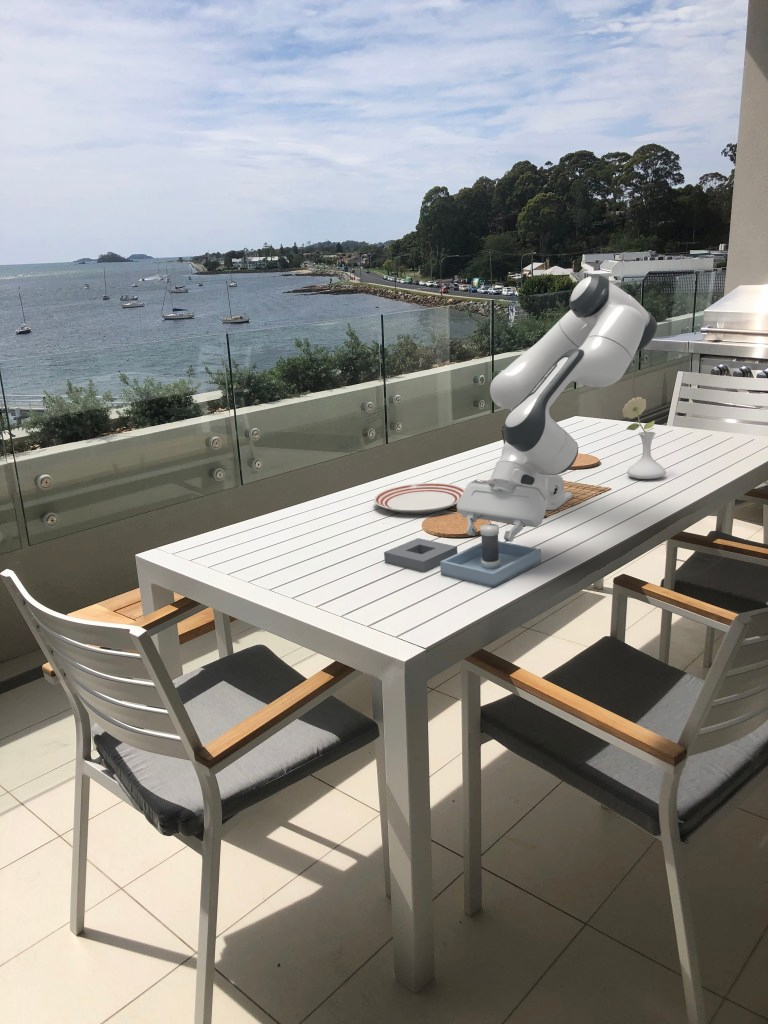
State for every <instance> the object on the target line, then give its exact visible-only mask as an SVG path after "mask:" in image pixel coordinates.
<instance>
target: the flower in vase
mask: <svg viewBox="0 0 768 1024" xmlns="http://www.w3.org/2000/svg"><path fill="white" fill-rule="evenodd" d="M646 409H647V400H646V398H642V396H636V398H635V397H632V398H631V399H630V400H628V402H627V403H626V404H624V407H623V408H622V410H621V411H622V412H621V413H622V417H623V418H624V419H625V418H628V419H635V418H638V423H636V422H634V423H631V424H630V425H628V426H627V428H626V431H627V430H628V431H636V430H637V429H638V428H639V427H641V429H642V431H641V432H638V434H637V435H638V436H639V437H640V438H641V442H642V455H641V458H640V459H638V460H637V461H636V462H634V463H633V464H632V465H631V466H630V467H628V469H627V470H626V474H627V475H628V476H629V477H631V478H634V479H637V480H638V479H640V480H654V479H658V478H659V479H660V478H662V477H664V476H665V475H666V473H667V471H666V469H665V468H664V467H663V466H662V465H661V463H659V462H657V461H656V459H654V458H653V457H652V451H651V450H652V449H651V447H652V441H653V439H654V437H655V436H656V434H657V433H656V432H655V431H646V430H648V429H649V430H650V429H652V428H653V427H654V426H655V423H656V422H655V420H652V421H650V422H647V423H645V424H644V426H642V424H641V421H640V420H641V419H640V415H642V414H643V412H644V411H645V410H646Z"/></svg>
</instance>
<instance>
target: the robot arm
mask: <svg viewBox="0 0 768 1024" xmlns="http://www.w3.org/2000/svg"><path fill="white" fill-rule="evenodd" d="M568 303H569V304H568V305H569V308H570V309H569V310H568V312H566V313H565V314H564V315H563V316H562V317H561V318H560V319H559V320H558V321H557V322H556V323H555V324H554V325H552V327H551V328H550V329H549V330H548V331H547V332H546V333H545V334H544V335H543V336H542V337H541V338H540V339H539V340H538V341H537V342H536V343H535V344H533V345H532V346H531V347H529V348H528V349H527V350H526V351H524V353H521V355H519V356H518V357H517V358H515V360H514V361H513V362H511V363H509V365H508V366H507V367H505V368H504V369H503V370H502V371H501V372H499V373H497V375H496V376H495V377H493V379H492V381H491V383H490V385H489V386H490V387H489V393H490V397H491V400H492V402H494V404H495V405H496V406H497V407H499V408H501V409H505V410H510V411H509V413H508V414H507V416H506V417H505V419H504V423H503V426H504V438H505V444H504V443H503V446H502V450H501V455H500V456H501V457H500V458H499V460H498V461H497V462H496V464H495V466H494V468H493V472H492V474H491V475H490V479H489V480H484V479H483V480H482V479H474V480H473V481H470V482H468V483H467V485H466V487H465V488H464V489H465V491H464V492H463V494H462V496H461V497H460V499H459V501H458V503H457V504H456V510H457V511H458V513H459V515H461V516H462V517H464V518H466V520H467V528H466V531H465V532H466V534H467V535H468V536H476V534H477V531H478V528H476V526H475V524H474V523H477V521H478V520H482V521H491V522H496V523H502V524H503V523H504V524H511V525H513V526H512V528H511V529H510V530H505V532H504V535H503V539H504V540H505V541H504V542H508V543H509V542H510V543H513V541H514V539H515V537H516V536H517V535H518V534H519V533H520V532H521V531H523V529H524V527H529V528H530V527H531V528H538V527H539V526H541V525H542V524H543V522H544V518H545V515H546V511H554V510H555V511H556V510H558V509H559V508H560V507H561V506H562V505H564V504H565V503H566V502H568V501H569V500H571V499H572V498H573V493H572V492H570V491H566V490H565V486H564V484H565V483H564V478H563V476H561V475H560V474H563V473H566V472H567V471H568V470H569V469H571V468H572V467H573V465H574V463H575V462H576V460H577V458H578V454H579V444H578V442H577V441H576V440H575V439H574V438H573V437H572V435H570V434H569V433H568V432H567V430H565V429H564V428H562V426H560V425H559V424H558V422H556V421H555V420H554V419H553V418H552V417H551V415H550V408H551V406H552V405H553V404H554V402H555V401H556V400H557V399H558V397H560V395H561V393H563V391H564V390H566V388H567V386H568V385H569V384H570V383H572V382H575V383H577V384H579V385H583V386H586V387H592V388H606V387H609V386H612V385H614V384H615V383H618V381H619V380H621V378H622V377H623V376H624V374H625V373H626V371H627V369H628V368H629V366H630V364H631V362H632V361H633V358H634V357H635V355H636V353H639V352H640V351H642V350H644V349H645V348H646V347H647V345H649V344H650V343H651V342H652V340H654V337H655V335H656V333H657V330H658V322H657V321H656V320H657V319H655V317H654V316H653V315H652V313H651V312H650V311H647V310H646V309H645V307H644V306H642V304H640V303H639V301H637V300H636V299H635V298H634V297H633V296H632V295H631V294H628V293H627V292H625V291H624V290H623V289H622V288H620V287H618V286H617V285H615V284H614V283H612V282H610V280H609V279H608V278H607V277H605V276H604V275H601V274H599V273H594V274H593V273H591V274H589V275H587V276H585V277H584V278H583V279H582V280H581V281H579V282H578V284H576V286H575V287H574V288H573V291H572V293H571V295H570V297H569V299H568Z"/></svg>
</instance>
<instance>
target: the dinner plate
mask: <svg viewBox="0 0 768 1024" xmlns="http://www.w3.org/2000/svg"><path fill="white" fill-rule="evenodd" d="M465 489H466V488H464V487H461V486H459V485H456V484H451V483H443V482H441V483H439V482H421V483H411V484H405V485H399V486H394V487H391V488H387V489H385V490H383V491H381V492H379V493H378V494H376V495H375V496H374V498H373V501H374V504H376V506H378V507H381V508H383V509H386V510H390V511H394V512H398V513H400V514H401V513H402V514H412V515H413V514H415V515H416V514H429V513H435V512H436V513H437V512H439V511H444V510H446V509H448V508H451V507H454V506H457V503H458V501H459V499H460V497H461V496H462V494H463V492H464V491H465Z"/></svg>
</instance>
